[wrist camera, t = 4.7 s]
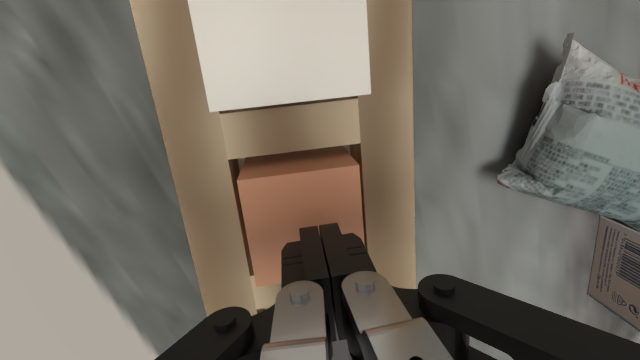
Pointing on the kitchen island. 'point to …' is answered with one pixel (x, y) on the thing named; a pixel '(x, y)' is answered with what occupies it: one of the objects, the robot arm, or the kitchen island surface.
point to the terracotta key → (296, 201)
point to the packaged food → (584, 140)
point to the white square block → (280, 50)
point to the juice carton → (617, 270)
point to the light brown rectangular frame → (282, 148)
